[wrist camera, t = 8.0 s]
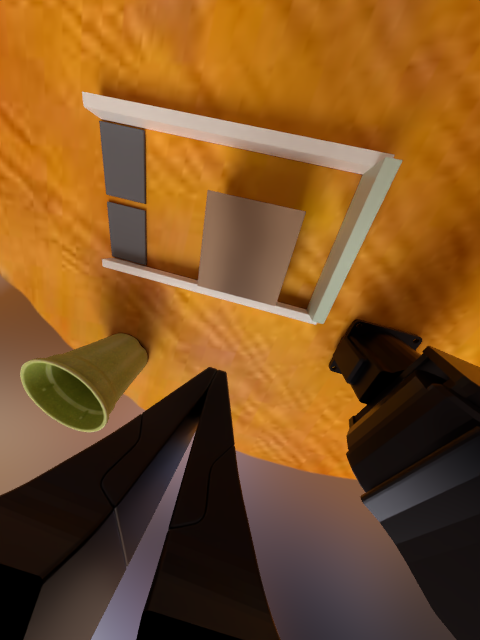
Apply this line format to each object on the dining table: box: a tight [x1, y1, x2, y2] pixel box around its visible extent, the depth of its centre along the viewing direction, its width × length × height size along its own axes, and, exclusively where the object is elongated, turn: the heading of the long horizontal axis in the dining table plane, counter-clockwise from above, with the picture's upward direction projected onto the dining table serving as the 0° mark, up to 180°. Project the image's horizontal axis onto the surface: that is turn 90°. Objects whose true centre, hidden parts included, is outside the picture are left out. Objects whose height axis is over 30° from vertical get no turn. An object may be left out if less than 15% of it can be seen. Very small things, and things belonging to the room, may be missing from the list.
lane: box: [82, 92, 402, 325], centre depth 15 cm, size 23×13×3 cm, turn 77°
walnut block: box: [197, 190, 306, 306], centre depth 15 cm, size 7×7×4 cm
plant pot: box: [20, 333, 148, 432], centre depth 21 cm, size 9×9×9 cm
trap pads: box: [99, 121, 147, 265], centre depth 17 cm, size 4×11×1 cm, turn 167°
